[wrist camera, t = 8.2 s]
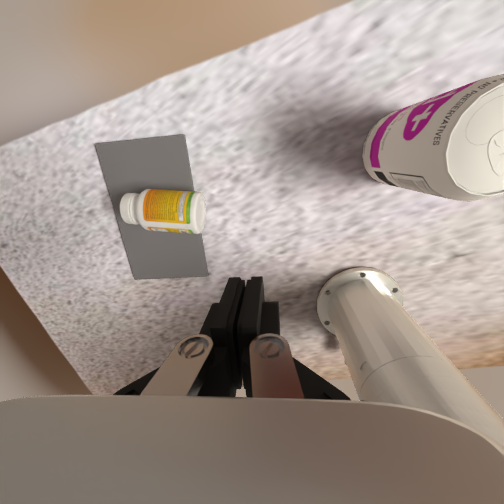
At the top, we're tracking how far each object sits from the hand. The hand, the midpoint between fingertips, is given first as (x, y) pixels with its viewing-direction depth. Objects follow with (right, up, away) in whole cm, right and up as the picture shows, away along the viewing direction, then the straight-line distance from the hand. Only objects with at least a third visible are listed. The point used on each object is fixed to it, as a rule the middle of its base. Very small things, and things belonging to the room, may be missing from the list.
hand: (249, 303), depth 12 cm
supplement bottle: (-6, +8, +19) cm, 21 cm away
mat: (-14, +8, +23) cm, 28 cm away
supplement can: (+18, +15, +18) cm, 29 cm away
